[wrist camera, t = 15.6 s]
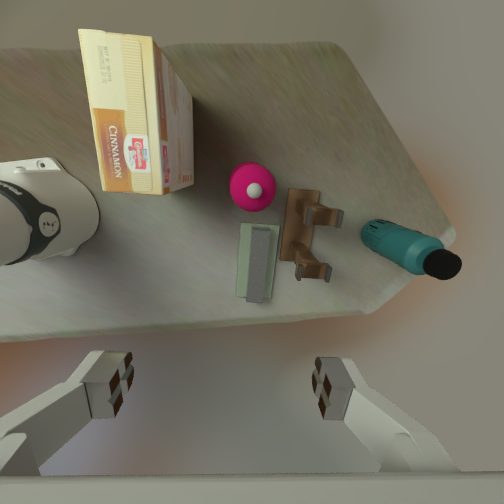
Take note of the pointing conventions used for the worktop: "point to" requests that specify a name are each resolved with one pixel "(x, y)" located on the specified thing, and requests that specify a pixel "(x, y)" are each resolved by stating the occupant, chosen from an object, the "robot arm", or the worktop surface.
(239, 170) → the pepper mill
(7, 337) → the worktop surface
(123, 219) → the worktop surface
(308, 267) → the stand
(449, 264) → the beverage bottle
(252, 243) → the rail
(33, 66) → the worktop surface
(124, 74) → the coffeecake box
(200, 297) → the worktop surface
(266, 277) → the mat
